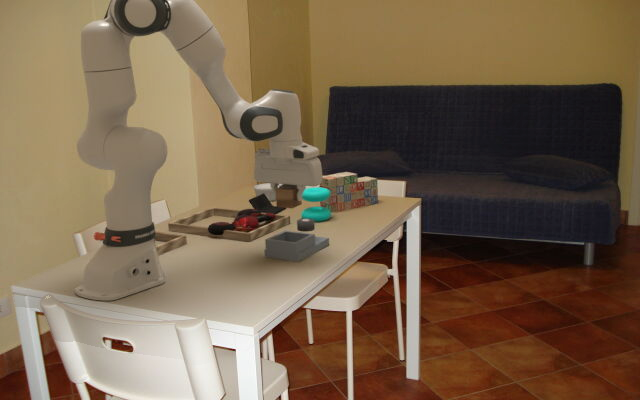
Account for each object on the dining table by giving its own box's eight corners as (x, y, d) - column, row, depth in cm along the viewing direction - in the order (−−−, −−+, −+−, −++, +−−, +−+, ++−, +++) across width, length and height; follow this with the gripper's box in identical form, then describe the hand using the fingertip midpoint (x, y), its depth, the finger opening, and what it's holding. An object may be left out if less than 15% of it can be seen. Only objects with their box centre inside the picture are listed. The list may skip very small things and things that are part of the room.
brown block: (292, 208, 177) (291, 188, 175) (276, 206, 179) (275, 186, 178) (301, 204, 181) (300, 184, 180) (286, 202, 183) (285, 183, 182)
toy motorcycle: (204, 240, 203) (248, 236, 196) (201, 223, 202) (245, 219, 195) (246, 222, 225) (287, 219, 218) (244, 208, 224) (284, 203, 217)
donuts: (333, 191, 214) (304, 194, 212) (334, 220, 217) (305, 223, 214) (325, 185, 224) (297, 188, 221) (326, 213, 226) (298, 216, 224)
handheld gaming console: (277, 212, 225) (261, 188, 226) (262, 224, 227) (245, 201, 228) (288, 208, 236) (272, 186, 237) (273, 220, 238) (257, 198, 239)
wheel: (309, 232, 186) (308, 223, 185) (294, 230, 188) (293, 221, 188) (317, 227, 190) (317, 218, 189) (303, 226, 192) (302, 217, 192)
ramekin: (253, 197, 256) (252, 184, 255) (281, 195, 258) (281, 181, 257) (256, 203, 246) (255, 189, 244) (285, 201, 248) (284, 187, 246)
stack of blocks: (367, 200, 244) (366, 168, 241) (378, 203, 238) (377, 170, 236) (320, 210, 232) (318, 176, 229) (330, 213, 227) (329, 178, 224)
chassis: (298, 261, 176) (297, 243, 175) (264, 256, 182) (263, 239, 180) (329, 244, 190) (328, 228, 189) (297, 240, 196) (296, 224, 195)
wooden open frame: (249, 241, 196) (248, 233, 196) (168, 230, 212) (168, 223, 211) (290, 223, 215) (289, 215, 215) (213, 214, 231) (213, 207, 231)
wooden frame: (151, 258, 184) (150, 249, 184) (103, 250, 193) (102, 241, 193) (186, 243, 197) (186, 235, 196) (140, 236, 206) (139, 229, 205)
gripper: (247, 149, 179) (251, 199, 182) (312, 153, 169) (314, 205, 172) (261, 146, 184) (263, 194, 187) (324, 149, 174) (326, 200, 177)
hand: (288, 199), depth 180 cm, fingers closed on brown block, 5 cm apart
